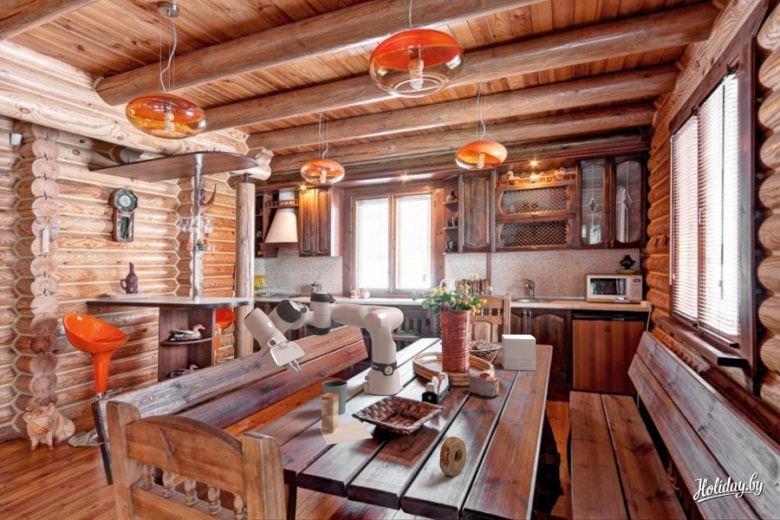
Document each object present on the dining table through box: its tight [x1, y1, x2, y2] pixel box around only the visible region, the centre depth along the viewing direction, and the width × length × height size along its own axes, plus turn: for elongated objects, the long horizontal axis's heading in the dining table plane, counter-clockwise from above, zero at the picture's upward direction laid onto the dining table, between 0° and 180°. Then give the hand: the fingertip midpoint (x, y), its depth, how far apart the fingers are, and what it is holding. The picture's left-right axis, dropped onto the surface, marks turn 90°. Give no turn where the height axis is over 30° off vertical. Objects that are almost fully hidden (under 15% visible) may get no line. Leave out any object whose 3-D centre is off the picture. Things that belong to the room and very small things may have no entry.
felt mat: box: [317, 420, 373, 446], centre depth 145 cm, size 16×16×1 cm
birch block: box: [321, 393, 339, 433], centre depth 147 cm, size 4×4×12 cm
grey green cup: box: [321, 379, 348, 416], centre depth 165 cm, size 10×10×12 cm
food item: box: [468, 372, 501, 398], centre depth 188 cm, size 14×8×10 cm, turn 51°
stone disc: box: [439, 436, 468, 477], centre depth 118 cm, size 10×4×10 cm, turn 136°
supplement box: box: [501, 334, 537, 372], centre depth 236 cm, size 17×13×18 cm
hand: (298, 372), depth 150 cm, fingers closed
